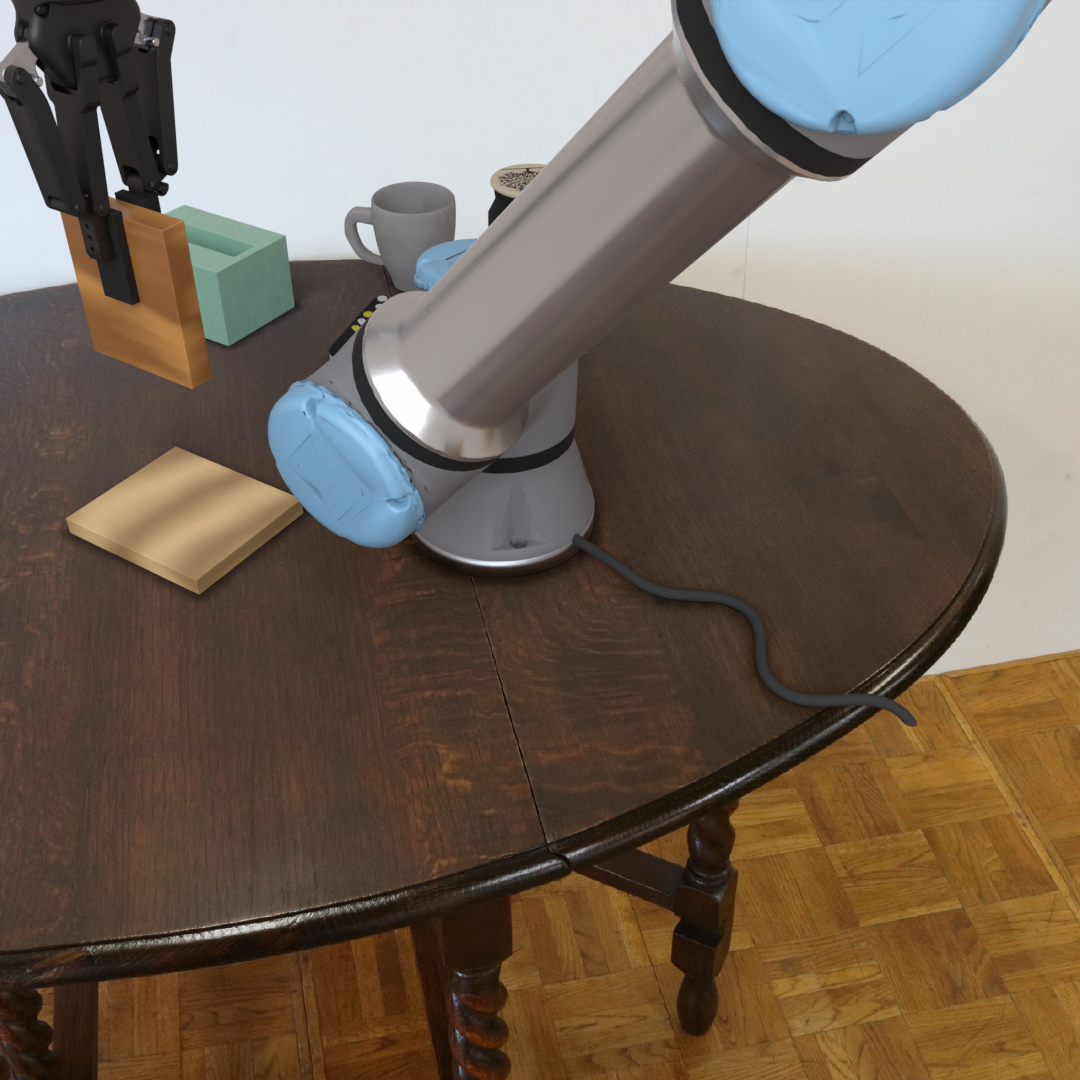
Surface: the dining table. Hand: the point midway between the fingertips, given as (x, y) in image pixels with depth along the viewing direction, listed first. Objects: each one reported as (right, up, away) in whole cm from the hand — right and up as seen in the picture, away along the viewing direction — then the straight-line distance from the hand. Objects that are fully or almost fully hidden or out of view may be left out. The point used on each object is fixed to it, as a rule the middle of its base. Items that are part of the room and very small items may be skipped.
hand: (137, 290), depth 83 cm
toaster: (-6, +7, +41) cm, 42 cm away
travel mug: (+27, +1, +35) cm, 44 cm away
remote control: (+12, +2, +36) cm, 39 cm away
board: (0, -16, +13) cm, 21 cm away
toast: (0, -5, +4) cm, 6 cm away
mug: (+13, +11, +47) cm, 50 cm away
